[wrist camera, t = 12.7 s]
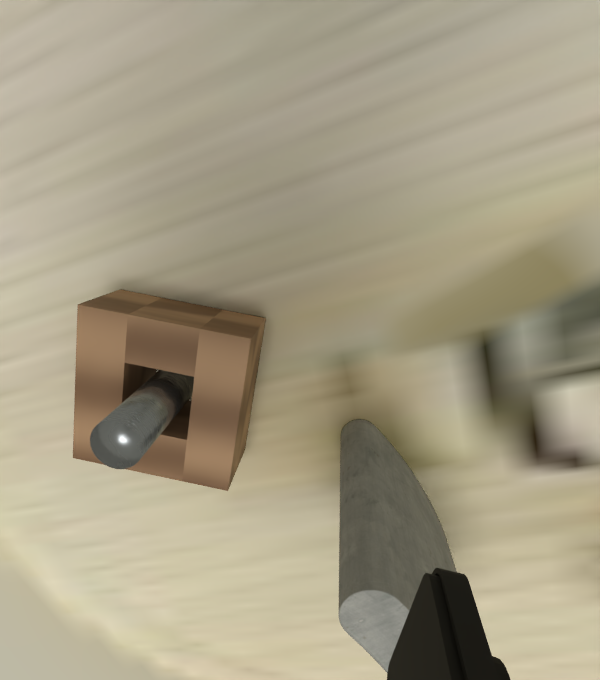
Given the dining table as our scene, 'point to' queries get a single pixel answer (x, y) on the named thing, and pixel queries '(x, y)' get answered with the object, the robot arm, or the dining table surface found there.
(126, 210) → the dining table surface
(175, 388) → the grey metal rod
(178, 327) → the wooden square hole block
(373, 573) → the hip flask
